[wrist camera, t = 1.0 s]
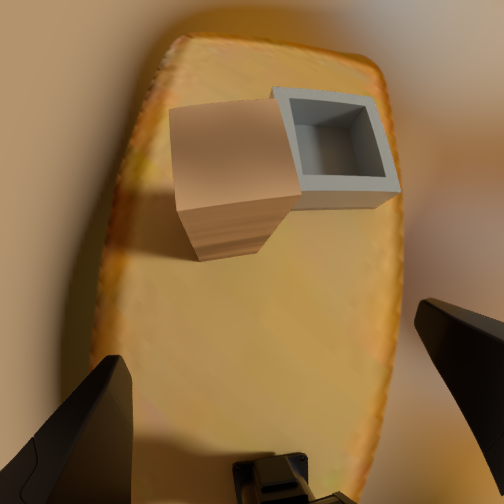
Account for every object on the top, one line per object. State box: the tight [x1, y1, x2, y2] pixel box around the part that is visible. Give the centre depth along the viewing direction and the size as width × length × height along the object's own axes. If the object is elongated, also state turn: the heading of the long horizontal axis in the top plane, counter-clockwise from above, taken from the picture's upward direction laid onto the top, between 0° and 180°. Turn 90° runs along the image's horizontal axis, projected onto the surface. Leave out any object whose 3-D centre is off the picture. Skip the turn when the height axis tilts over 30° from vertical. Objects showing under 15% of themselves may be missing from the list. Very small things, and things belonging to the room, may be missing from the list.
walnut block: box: [169, 99, 302, 262], centre depth 17 cm, size 4×4×13 cm
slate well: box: [269, 87, 401, 211], centre depth 23 cm, size 9×9×5 cm
